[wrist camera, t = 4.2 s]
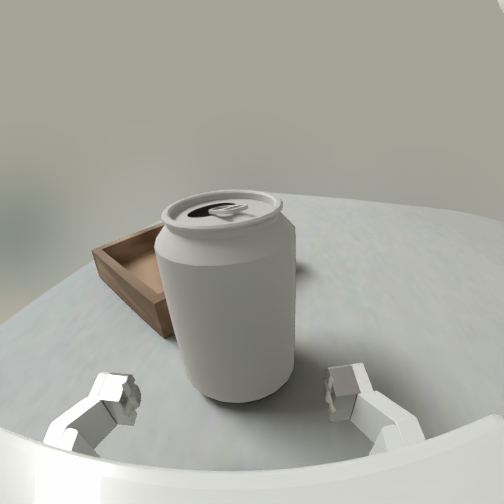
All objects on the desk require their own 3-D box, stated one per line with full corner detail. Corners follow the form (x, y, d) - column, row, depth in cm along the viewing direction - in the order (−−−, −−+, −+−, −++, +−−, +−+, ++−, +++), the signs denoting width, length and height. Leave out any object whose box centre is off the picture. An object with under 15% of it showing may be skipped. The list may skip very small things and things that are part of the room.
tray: (200, 233, 44) (197, 210, 43) (288, 265, 34) (287, 235, 33) (99, 276, 34) (91, 250, 33) (164, 338, 24) (154, 303, 22)
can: (249, 323, 25) (237, 178, 20) (316, 369, 20) (326, 198, 15) (170, 363, 21) (129, 206, 16) (228, 430, 16) (191, 244, 11)
